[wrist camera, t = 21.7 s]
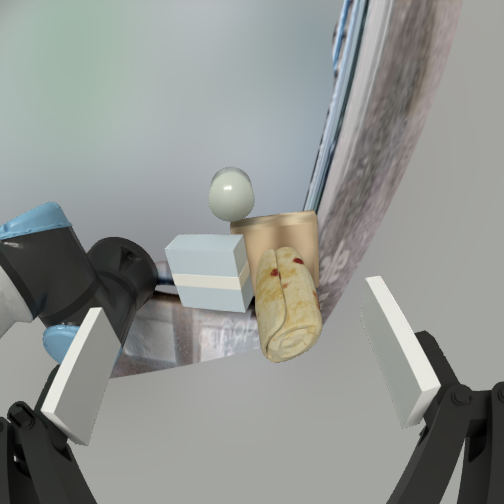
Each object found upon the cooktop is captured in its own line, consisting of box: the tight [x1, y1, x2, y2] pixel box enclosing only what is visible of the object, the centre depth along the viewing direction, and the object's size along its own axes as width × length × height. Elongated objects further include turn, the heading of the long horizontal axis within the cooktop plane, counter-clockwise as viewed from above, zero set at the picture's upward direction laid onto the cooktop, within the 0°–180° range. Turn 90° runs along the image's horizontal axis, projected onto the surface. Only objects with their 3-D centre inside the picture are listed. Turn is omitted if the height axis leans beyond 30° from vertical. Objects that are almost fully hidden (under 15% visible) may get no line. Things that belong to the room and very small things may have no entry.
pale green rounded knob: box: [208, 167, 254, 222], centre depth 46 cm, size 6×6×7 cm
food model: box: [255, 247, 322, 363], centre depth 44 cm, size 10×7×20 cm
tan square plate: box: [230, 210, 319, 296], centre depth 54 cm, size 14×14×3 cm
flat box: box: [164, 234, 254, 313], centre depth 52 cm, size 12×12×5 cm
